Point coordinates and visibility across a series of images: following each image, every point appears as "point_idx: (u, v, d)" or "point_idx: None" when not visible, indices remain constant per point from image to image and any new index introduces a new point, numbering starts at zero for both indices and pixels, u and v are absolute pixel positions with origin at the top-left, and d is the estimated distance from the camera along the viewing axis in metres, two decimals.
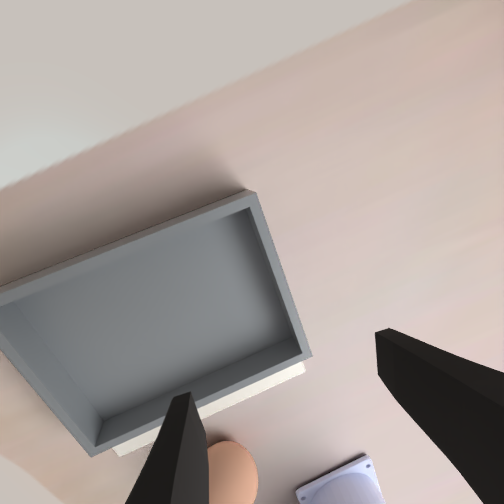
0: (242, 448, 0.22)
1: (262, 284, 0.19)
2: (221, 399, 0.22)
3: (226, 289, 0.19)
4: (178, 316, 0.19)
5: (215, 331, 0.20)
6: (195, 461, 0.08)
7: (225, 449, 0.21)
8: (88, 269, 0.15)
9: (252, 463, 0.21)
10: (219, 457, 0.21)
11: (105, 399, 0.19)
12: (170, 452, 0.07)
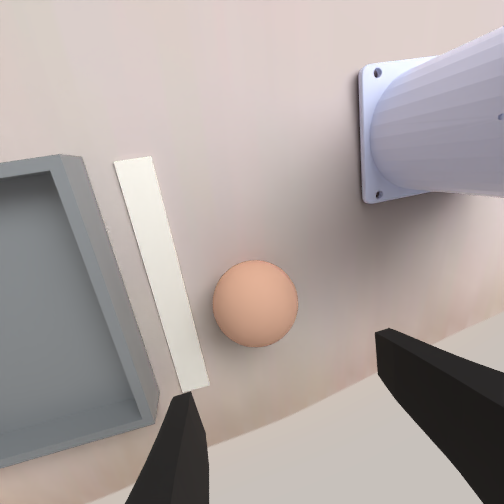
0: (227, 271, 0.16)
1: None
2: (165, 277, 0.17)
3: None
4: (13, 310, 0.16)
5: (42, 272, 0.15)
6: (195, 461, 0.08)
7: None
8: None
9: (239, 267, 0.15)
10: None
11: (119, 389, 0.18)
12: (170, 452, 0.07)
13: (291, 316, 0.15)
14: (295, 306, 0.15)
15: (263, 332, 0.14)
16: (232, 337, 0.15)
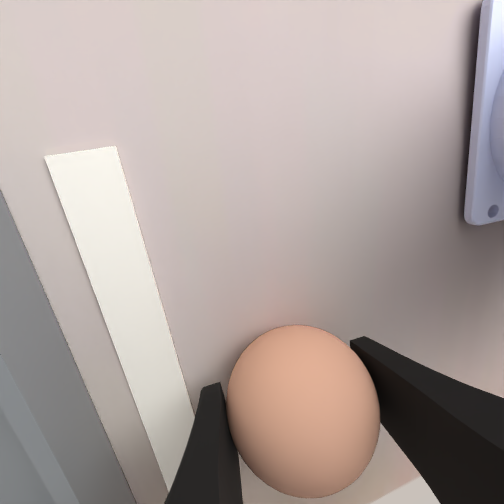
0: (251, 346, 0.09)
1: None
2: (145, 349, 0.10)
3: None
4: None
5: None
6: (229, 449, 0.08)
7: None
8: None
9: (275, 348, 0.09)
10: (227, 410, 0.09)
11: None
12: (210, 438, 0.07)
13: (375, 445, 0.08)
14: (379, 421, 0.08)
15: (329, 487, 0.07)
16: (265, 482, 0.08)
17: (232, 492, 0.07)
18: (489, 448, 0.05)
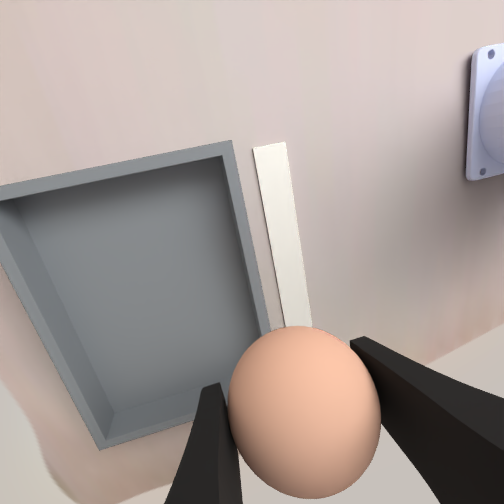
0: (252, 346, 0.10)
1: (132, 189, 0.15)
2: (287, 255, 0.19)
3: (133, 234, 0.16)
4: (160, 289, 0.17)
5: (188, 253, 0.17)
6: (229, 449, 0.08)
7: (229, 386, 0.09)
8: (68, 369, 0.15)
9: (276, 349, 0.09)
10: (228, 411, 0.09)
11: None
12: (210, 438, 0.07)
13: (376, 446, 0.08)
14: (380, 422, 0.08)
15: (329, 488, 0.07)
16: (266, 483, 0.08)
17: (232, 492, 0.07)
18: (489, 448, 0.05)
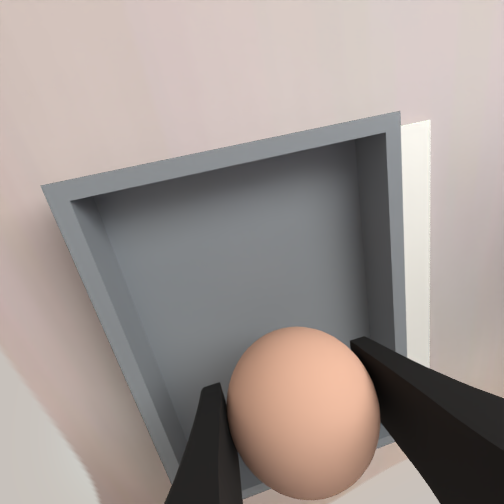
0: (251, 347, 0.10)
1: (244, 181, 0.11)
2: (413, 265, 0.15)
3: (239, 241, 0.12)
4: (266, 311, 0.13)
5: (303, 264, 0.13)
6: (229, 449, 0.08)
7: (228, 387, 0.09)
8: (159, 422, 0.11)
9: (275, 350, 0.09)
10: (227, 412, 0.09)
11: None
12: (210, 438, 0.07)
13: None
14: None
15: (329, 490, 0.07)
16: (265, 484, 0.08)
17: (232, 492, 0.07)
18: (489, 449, 0.05)
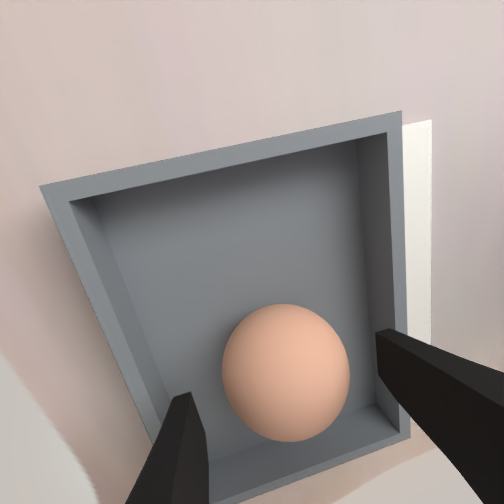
0: (243, 320, 0.11)
1: (244, 181, 0.11)
2: (414, 266, 0.15)
3: (239, 242, 0.12)
4: None
5: (303, 265, 0.13)
6: (195, 461, 0.08)
7: None
8: (159, 424, 0.11)
9: (262, 320, 0.10)
10: (222, 373, 0.11)
11: (350, 399, 0.16)
12: (170, 452, 0.07)
13: (344, 398, 0.10)
14: (348, 380, 0.10)
15: (304, 429, 0.09)
16: (253, 429, 0.10)
17: None
18: None
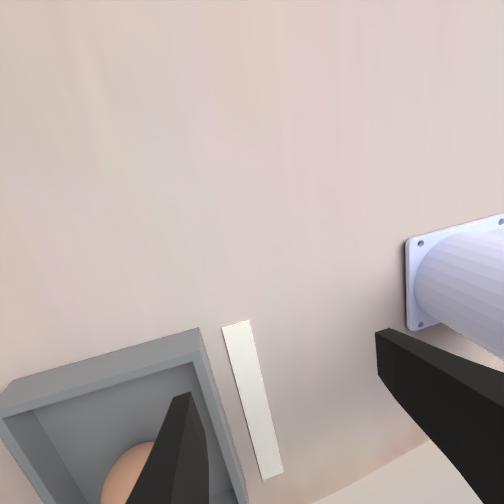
0: (118, 459, 0.18)
1: None
2: (254, 400, 0.22)
3: (121, 404, 0.19)
4: (145, 440, 0.20)
5: None
6: (195, 461, 0.08)
7: None
8: None
9: (123, 467, 0.17)
10: None
11: (217, 485, 0.23)
12: (170, 452, 0.07)
13: None
14: None
15: None
16: None
17: None
18: None
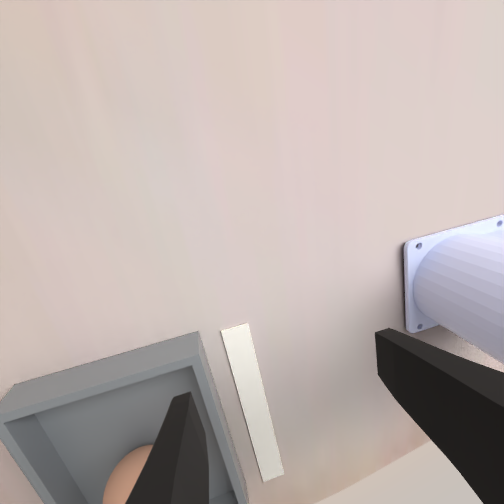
0: (119, 463, 0.18)
1: None
2: (254, 402, 0.22)
3: (121, 407, 0.19)
4: (146, 443, 0.20)
5: None
6: (195, 461, 0.08)
7: None
8: None
9: (124, 470, 0.17)
10: None
11: (218, 487, 0.23)
12: (170, 452, 0.07)
13: None
14: None
15: None
16: None
17: None
18: None
